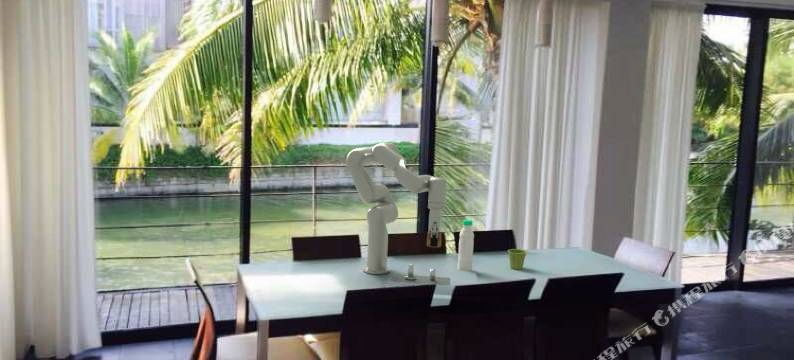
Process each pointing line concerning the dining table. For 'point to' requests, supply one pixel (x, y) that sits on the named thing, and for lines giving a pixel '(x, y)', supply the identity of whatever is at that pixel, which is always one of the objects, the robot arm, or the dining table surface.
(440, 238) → the sleeve
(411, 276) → the steel posts
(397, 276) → the post board
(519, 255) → the plant pot
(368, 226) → the robot arm
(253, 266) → the dining table surface
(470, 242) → the water bottle
